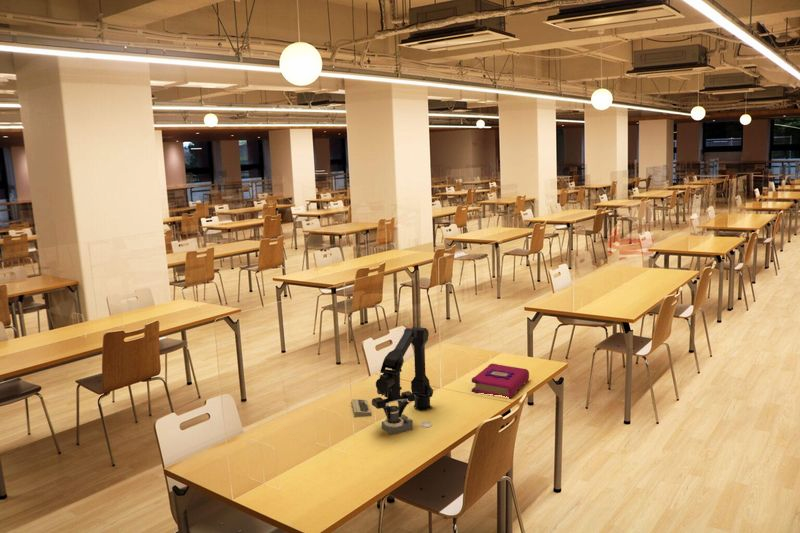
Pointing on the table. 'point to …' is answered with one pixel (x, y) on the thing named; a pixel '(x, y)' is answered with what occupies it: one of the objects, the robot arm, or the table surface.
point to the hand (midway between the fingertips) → (393, 418)
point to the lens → (394, 414)
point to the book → (500, 380)
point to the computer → (360, 408)
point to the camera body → (398, 425)
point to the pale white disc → (426, 424)
